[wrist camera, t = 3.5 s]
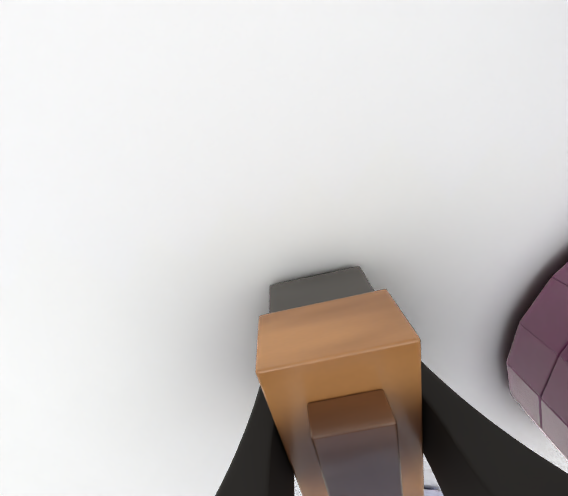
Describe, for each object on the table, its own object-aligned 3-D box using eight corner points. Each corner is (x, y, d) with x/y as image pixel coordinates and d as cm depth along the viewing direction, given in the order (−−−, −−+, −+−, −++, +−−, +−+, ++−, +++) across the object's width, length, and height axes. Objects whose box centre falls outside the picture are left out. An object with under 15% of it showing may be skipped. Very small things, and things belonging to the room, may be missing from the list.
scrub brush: (381, 389, 15) (439, 533, 10) (299, 405, 15) (313, 554, 10) (366, 257, 11) (443, 371, 6) (260, 280, 11) (252, 408, 6)
